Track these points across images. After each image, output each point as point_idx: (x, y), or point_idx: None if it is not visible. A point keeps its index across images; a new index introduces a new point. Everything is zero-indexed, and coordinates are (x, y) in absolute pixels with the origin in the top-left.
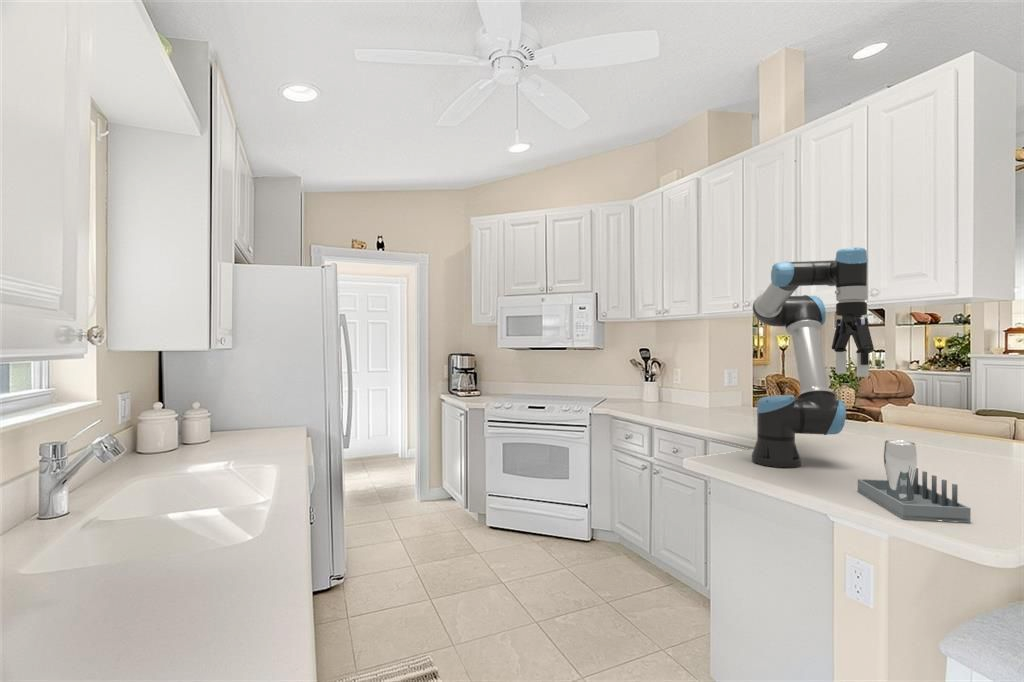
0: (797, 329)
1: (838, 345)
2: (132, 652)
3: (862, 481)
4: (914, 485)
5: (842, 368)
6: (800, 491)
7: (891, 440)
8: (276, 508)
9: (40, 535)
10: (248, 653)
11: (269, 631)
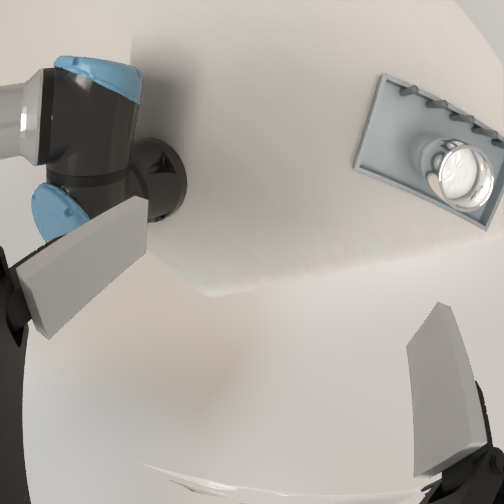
0: None
1: (20, 380)
2: (398, 500)
3: (371, 175)
4: (406, 95)
5: (125, 235)
6: (333, 261)
7: (442, 172)
8: (288, 494)
9: None
10: (413, 492)
11: (404, 492)
